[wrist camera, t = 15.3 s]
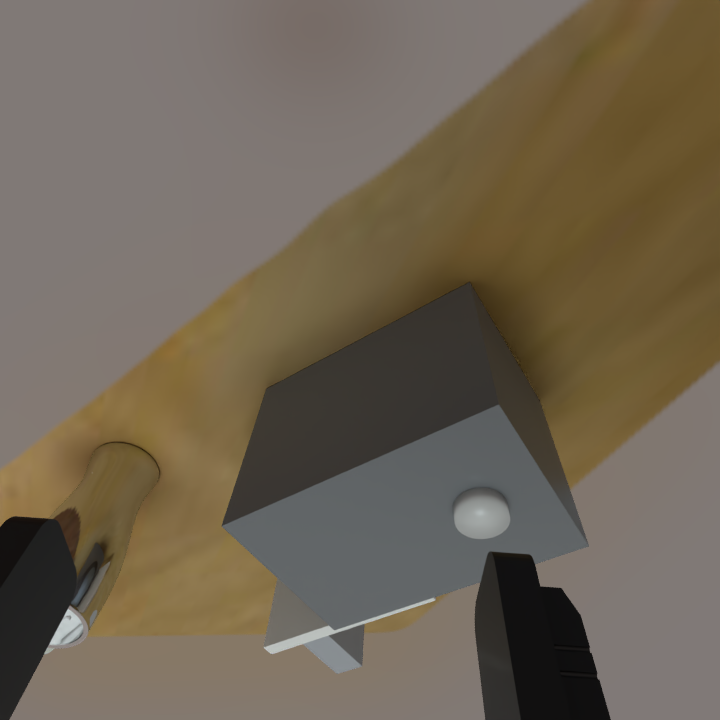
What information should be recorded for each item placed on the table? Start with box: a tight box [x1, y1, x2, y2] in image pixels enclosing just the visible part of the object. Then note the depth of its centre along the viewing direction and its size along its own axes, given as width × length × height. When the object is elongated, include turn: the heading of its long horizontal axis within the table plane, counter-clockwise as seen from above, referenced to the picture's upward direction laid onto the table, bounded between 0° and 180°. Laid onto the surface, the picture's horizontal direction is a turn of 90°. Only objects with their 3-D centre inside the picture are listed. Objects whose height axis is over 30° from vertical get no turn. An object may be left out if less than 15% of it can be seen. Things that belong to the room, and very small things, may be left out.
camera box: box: [222, 282, 589, 630], centre depth 40 cm, size 21×12×15 cm, turn 123°
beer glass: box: [48, 443, 159, 648], centre depth 46 cm, size 7×7×15 cm
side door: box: [264, 578, 436, 674], centre depth 47 cm, size 14×7×11 cm, turn 123°
